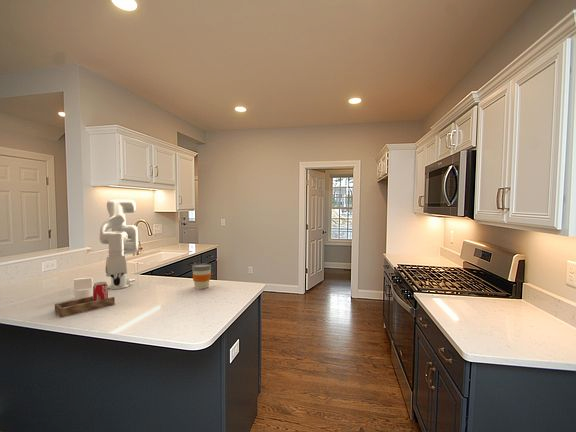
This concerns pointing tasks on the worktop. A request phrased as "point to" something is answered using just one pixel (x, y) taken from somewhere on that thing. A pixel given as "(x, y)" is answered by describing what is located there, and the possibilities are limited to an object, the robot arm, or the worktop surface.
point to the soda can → (100, 291)
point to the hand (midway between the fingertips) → (116, 285)
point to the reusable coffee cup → (201, 275)
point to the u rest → (81, 305)
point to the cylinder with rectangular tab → (83, 288)
